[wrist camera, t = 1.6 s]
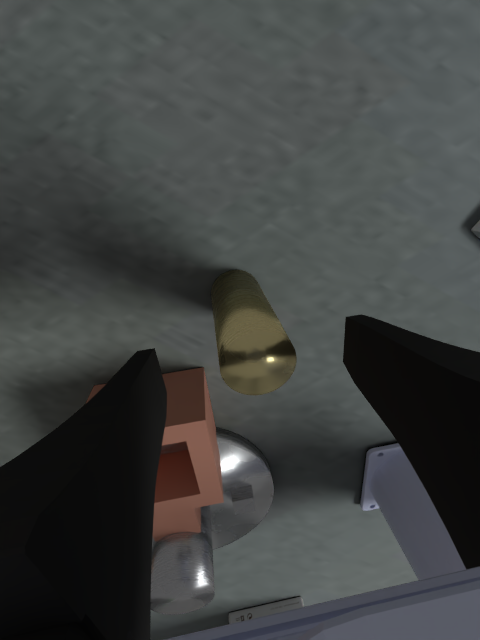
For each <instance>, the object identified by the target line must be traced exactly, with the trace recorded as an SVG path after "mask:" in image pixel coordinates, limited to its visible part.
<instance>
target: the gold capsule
mask: <svg viewBox="0 0 480 640" xmlns="http://www.w3.org/2000/svg"><path fill="white" fill-rule="evenodd" d="M211 300H212V308H213V316H214V324H215V332H216V341H217V349H218V357H219V365H220V372H221V376H222V378H223V380H224V381H225V383H226V384H227V385H228V386H229V387H230V388H231V389H233V390H235V391H237V392H239V393H242V394H246V395H262V394H266V393H269V392H272V391H274V390H276V389H278V388H279V387H281V386H282V385H283V384H284V383H286V382H287V380H288V379H289V378H290V377H291V375H292V374H293V372H294V369H295V366H296V352H295V349H294V347H293V345H292V343H291V341H290V340H289V338H288V336H287V334H286V332H285V331H284V329H283V327H282V325H281V323H280V322H279V320H278V318H277V316H276V314H275V313H274V311H273V309H272V307H271V305H270V304H269V302H268V300H267V298H266V296H265V295H264V293H263V291H262V289H261V287H260V286H259V284H258V282H257V280H256V279H255V278H254V277H253V276H252V275H251V274H249V273H248V272H246V271H242V270H231V271H228V272H225V273H223V274H222V275H220V276H219V277H218V278H217V279H216V280H215V282H214V284H213V286H212V289H211Z"/></svg>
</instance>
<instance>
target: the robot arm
mask: <svg viewBox="0 0 480 640" xmlns="http://www.w3.org/2000/svg"><path fill="white" fill-rule="evenodd" d="M343 362H344V364H345V366H346V368H347V370H348V372H349V374H350V376H351V377H352V379H353V381H354V383H355V384H356V386H357V387H358V388H359V390H360V391H361V392H362V394H363V395H364V397H365V398H366V399H367V401H368V402H369V403H370V405H371V406H372V407H373V409H374V410H375V411H376V413H377V414H378V415H379V417H380V418H381V419H382V421H383V422H384V423H385V425H386V426H387V427H388V429H389V430H390V431H391V433H392V434H393V436H394V437H395V439H396V440H397V442H398V443H397V444H391V445H386V446H381V447H376V448H372V449H370V450H368V451H367V455H366V463H365V471H364V479H363V487H362V495H361V503H360V506H361V508H362V510H364V511H367V510H372V509H377V508H380V510H381V512H382V514H383V515H384V517H385V519H386V521H387V523H388V525H389V526H390V528H391V530H392V532H393V534H394V536H395V537H396V539H397V541H398V543H399V545H400V547H401V548H402V550H403V552H404V554H405V556H406V558H407V559H408V561H409V563H410V565H411V567H412V569H413V570H414V572H415V574H416V576H417V578H418V581H414V582H410V583H405V584H401V585H397V586H392V587H388V588H384V589H379V590H375V591H371V592H366V593H362V594H358V595H353V596H349V597H345V598H340V599H336V600H332V601H327V602H323V603H319V604H314V605H310V606H306V607H301V608H297V609H293V610H288V611H284V612H280V613H275V614H271V615H267V616H262V617H258V618H254V619H249V620H245V621H241V622H236V623H232V624H228V625H223V626H219V627H215V628H210V629H206V630H202V631H197V632H193V633H189V634H184V635H180V636H176V637H171V638H167V639H163V640H480V352H476V351H472V350H468V349H464V348H460V347H457V346H453V345H450V344H446V343H443V342H440V341H437V340H434V339H431V338H428V337H425V336H422V335H419V334H416V333H413V332H410V331H408V330H405V329H402V328H399V327H397V326H394V325H391V324H389V323H386V322H383V321H381V320H378V319H375V318H372V317H369V316H365V315H356V316H350V317H346V322H345V339H344V355H343ZM166 415H167V390H166V387H165V383H164V380H163V376H162V373H161V369H160V366H159V362H158V359H157V355H156V352H155V348H154V349H147V350H141V351H137V352H136V353H135V354H134V355H133V356H132V357H131V358H130V359H129V360H128V361H127V363H126V364H125V365H124V366H123V367H122V368H121V369H120V370H119V371H118V372H117V373H116V374H115V375H114V376H113V378H112V379H111V380H110V381H109V382H108V383H107V384H106V385H105V386H104V387H103V388H102V389H101V390H100V391H99V392H98V393H97V394H96V395H94V396H93V397H92V398H91V399H90V400H89V401H88V402H87V403H86V404H85V405H84V406H83V407H82V408H81V409H80V410H78V411H77V412H76V413H75V414H74V415H73V416H71V417H70V418H69V419H68V420H66V421H65V422H64V423H63V424H61V425H60V426H59V427H58V428H56V429H55V430H54V431H52V432H51V433H50V434H48V435H47V436H45V437H44V438H43V439H41V440H40V441H38V442H37V443H36V444H34V445H33V446H31V447H30V448H29V449H27V450H26V451H24V452H23V453H22V454H20V455H19V456H17V457H16V458H14V459H12V460H11V461H9V462H8V463H6V464H5V465H3V466H1V467H0V640H150V608H151V565H152V539H153V518H154V502H155V487H156V479H157V472H158V466H159V460H160V454H161V448H162V442H163V435H164V429H165V423H166Z"/></svg>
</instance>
